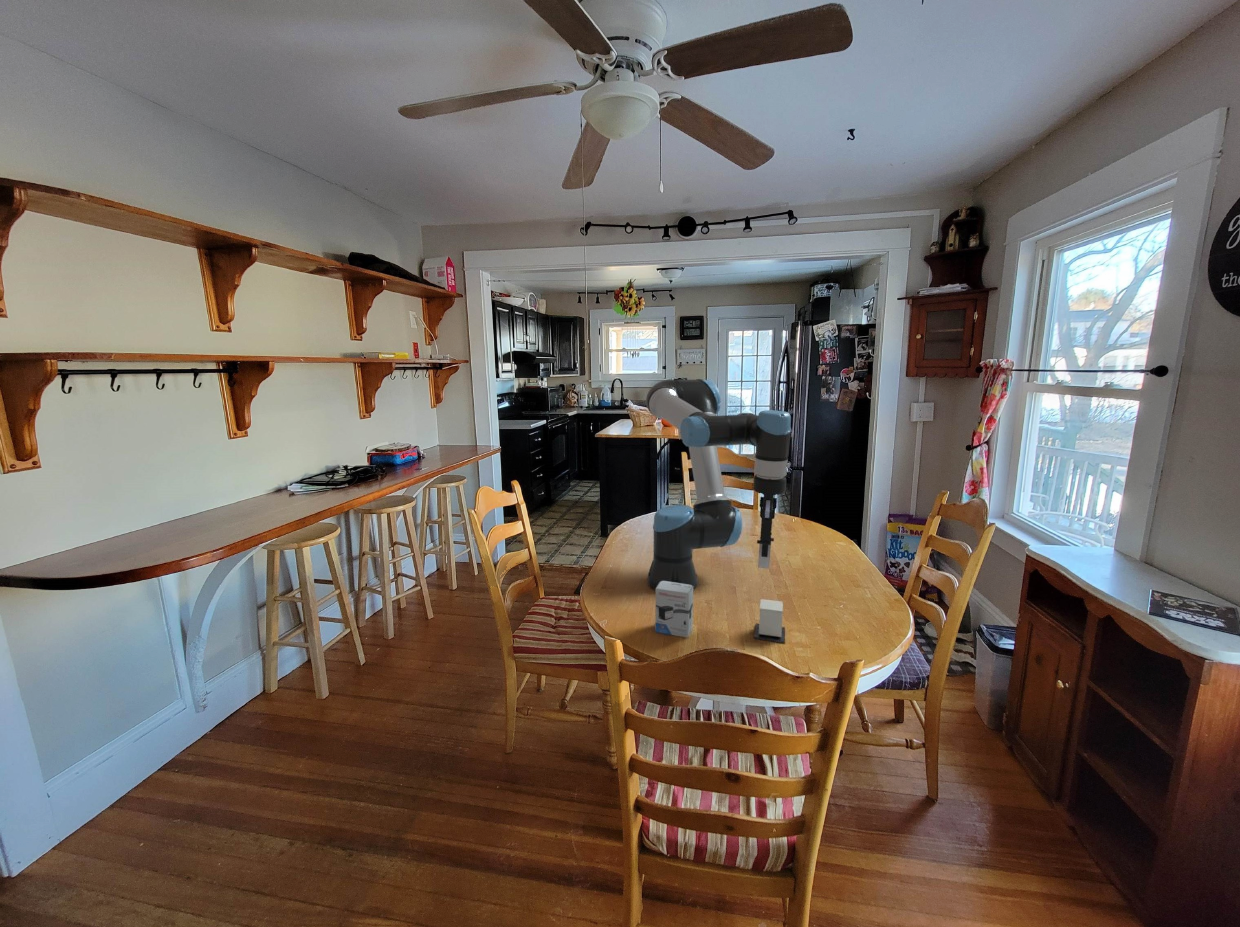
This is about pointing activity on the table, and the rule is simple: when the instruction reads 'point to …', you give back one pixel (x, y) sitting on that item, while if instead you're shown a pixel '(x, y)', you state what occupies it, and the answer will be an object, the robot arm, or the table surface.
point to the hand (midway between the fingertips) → (763, 566)
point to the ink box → (674, 608)
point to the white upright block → (771, 617)
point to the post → (769, 636)
